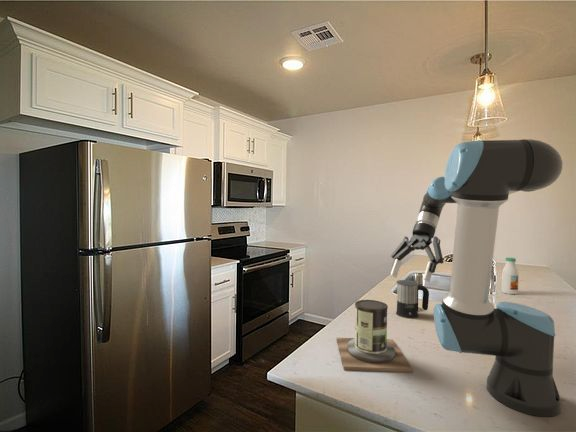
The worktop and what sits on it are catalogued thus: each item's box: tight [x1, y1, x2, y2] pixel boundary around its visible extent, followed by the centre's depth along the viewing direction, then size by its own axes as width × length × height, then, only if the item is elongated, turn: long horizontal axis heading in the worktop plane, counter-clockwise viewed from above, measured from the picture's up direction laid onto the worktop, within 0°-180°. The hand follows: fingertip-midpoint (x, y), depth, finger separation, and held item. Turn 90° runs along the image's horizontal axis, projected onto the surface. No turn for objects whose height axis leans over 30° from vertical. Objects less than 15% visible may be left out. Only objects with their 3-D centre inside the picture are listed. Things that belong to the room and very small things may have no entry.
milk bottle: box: [500, 257, 519, 295], centre depth 176 cm, size 8×8×20 cm
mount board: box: [336, 337, 414, 373], centre depth 101 cm, size 20×20×2 cm
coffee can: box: [354, 299, 389, 354], centre depth 101 cm, size 10×10×14 cm
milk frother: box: [396, 279, 430, 319], centre depth 143 cm, size 14×16×15 cm
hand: (408, 278), depth 110 cm, fingers open, 13 cm apart
